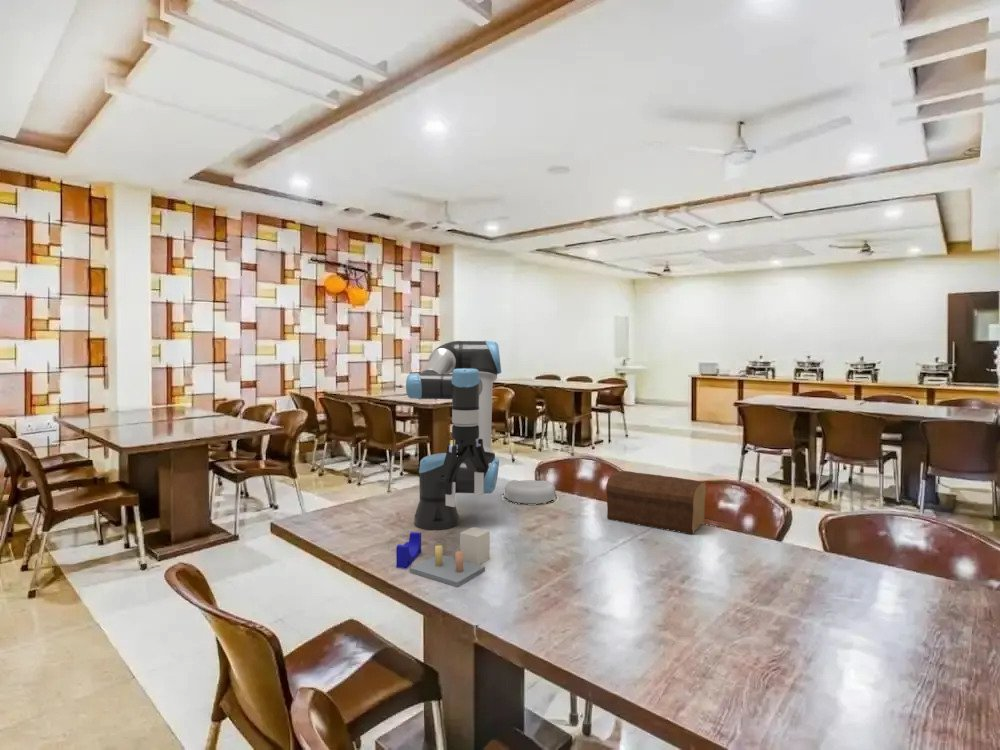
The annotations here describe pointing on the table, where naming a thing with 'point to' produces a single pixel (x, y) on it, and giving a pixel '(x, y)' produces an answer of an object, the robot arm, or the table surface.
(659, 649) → the table surface
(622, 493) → the bread
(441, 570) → the board
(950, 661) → the table surface
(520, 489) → the round ceiling alarm
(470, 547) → the cream rectangular block
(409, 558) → the blue arched piece
